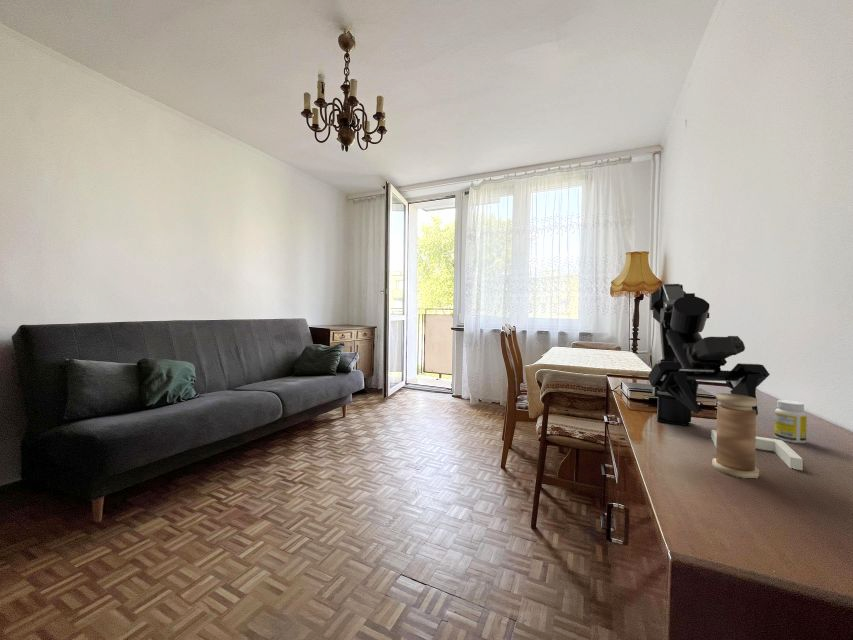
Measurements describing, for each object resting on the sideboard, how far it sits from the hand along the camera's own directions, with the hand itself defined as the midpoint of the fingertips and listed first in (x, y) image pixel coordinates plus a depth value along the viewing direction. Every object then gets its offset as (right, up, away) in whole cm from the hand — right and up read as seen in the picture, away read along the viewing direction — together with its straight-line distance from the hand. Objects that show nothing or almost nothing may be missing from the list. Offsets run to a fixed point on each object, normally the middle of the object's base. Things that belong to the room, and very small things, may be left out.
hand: (726, 414), depth 60 cm
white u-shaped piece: (+10, -9, +5) cm, 14 cm away
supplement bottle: (+26, -10, +13) cm, 31 cm away
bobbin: (0, -9, -2) cm, 10 cm away
